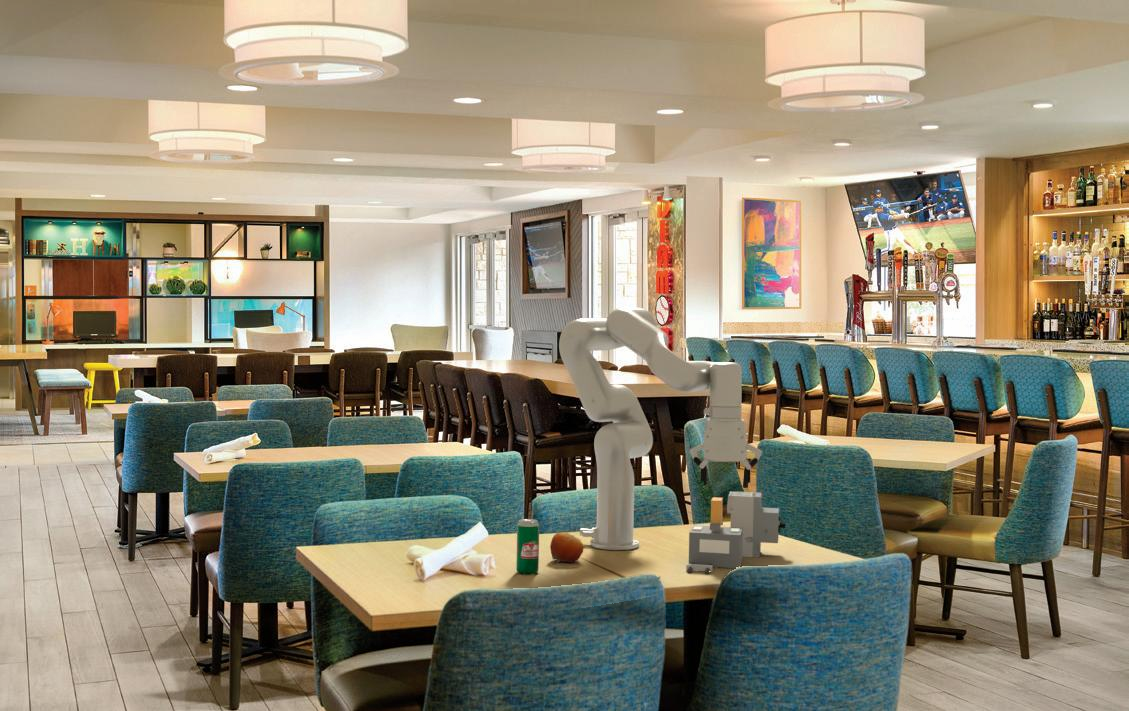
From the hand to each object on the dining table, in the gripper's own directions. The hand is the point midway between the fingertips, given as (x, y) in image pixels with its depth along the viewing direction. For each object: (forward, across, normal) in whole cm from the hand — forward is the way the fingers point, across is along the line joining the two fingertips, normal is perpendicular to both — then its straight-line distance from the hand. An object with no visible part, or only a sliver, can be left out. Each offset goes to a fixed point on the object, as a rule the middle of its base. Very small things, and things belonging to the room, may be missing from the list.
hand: (725, 485), depth 281 cm
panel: (+19, -2, 0) cm, 19 cm away
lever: (+9, -2, 0) cm, 10 cm away
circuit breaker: (+19, +6, +14) cm, 25 cm away
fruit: (+19, -37, -8) cm, 42 cm away
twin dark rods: (+19, -5, -9) cm, 22 cm away
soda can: (+18, -43, -23) cm, 52 cm away
